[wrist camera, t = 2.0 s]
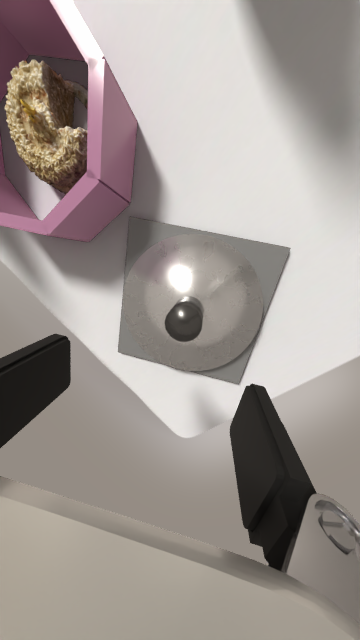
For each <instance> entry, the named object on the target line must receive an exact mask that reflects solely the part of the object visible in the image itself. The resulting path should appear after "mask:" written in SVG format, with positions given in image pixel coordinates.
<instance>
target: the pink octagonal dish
mask: <svg viewBox="0 0 360 640" xmlns="http://www.w3.org/2000/svg"><path fill="white" fill-rule="evenodd" d="M29 55H37V56H46V57H54V58H62V59H71V60H79V61H86V62H87V64H88V129H87V172H86V173H85V174H84V175H83V176H82V178H81V179H80V180H79V181H78V182H77V183H76V184H75V185H74V186H73V188H72V189H71V190H70V191H69V192H68V193H67V194H66V195H65V196H64V198H63V199H62V200H61V201H60V202H59V203H58V204H57V205H56V206H55V208H54V209H53V210H52V211H51V212H50V213H49V214H48V215H47V216H46V217H45V219H44V220H43V221H41V220H38V218H37V217H36V216H35V214H34V213H33V212H32V210H31V209H30V208H29V206H28V205H27V204H26V202H25V201H24V200H23V198H22V197H21V196H20V194H19V193H18V192H17V190H16V189H15V188H14V186H13V185H12V184H11V182H10V181H9V180H8V178H7V177H6V176H5V169H4V161H3V152H2V144H1V135H0V226H5V227H10V228H14V229H19V230H24V231H28V232H33V233H38V234H42V235H47V236H53V237H59V238H65V239H71V240H78V241H84V242H90V241H91V240H92V239H93V238H94V237H95V236H96V235H97V234H98V233H99V232H101V231H102V230H103V229H104V228H105V227H106V226H107V225H108V224H109V223H110V222H111V221H112V220H113V219H115V218H116V217H117V216H118V215H119V214H120V213H121V212H122V211H123V210H124V209H125V208H126V207H128V206H129V205H130V204H129V202H130V203H131V193H132V182H133V170H134V159H135V147H136V136H137V124H138V123H137V120H136V118H135V116H134V114H133V112H132V110H131V108H130V106H129V104H128V102H127V100H126V98H125V96H124V94H123V93H122V91H121V89H120V87H119V85H118V83H117V81H116V79H115V77H114V75H113V73H112V71H111V69H110V67H109V65H108V63H107V61H106V59H105V57H104V55H103V54H102V52H101V50H100V48H99V47H98V45H97V43H96V42H95V40H94V38H93V36H92V35H91V33H90V31H89V29H88V28H87V26H86V24H85V22H84V21H83V19H82V17H81V16H80V14H79V12H78V10H77V9H76V7H75V5H74V3H73V2H72V0H0V102H1V100H2V99H3V97H4V95H5V94H6V92H7V88H8V86H7V82H10V80H12V79H13V77H12V75H11V71H12V69H13V68H14V67H15V68H16V66H17V67H18V68H19V62H22V61H24V62H25V60H26V59H27V58H28V56H29Z"/></svg>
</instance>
